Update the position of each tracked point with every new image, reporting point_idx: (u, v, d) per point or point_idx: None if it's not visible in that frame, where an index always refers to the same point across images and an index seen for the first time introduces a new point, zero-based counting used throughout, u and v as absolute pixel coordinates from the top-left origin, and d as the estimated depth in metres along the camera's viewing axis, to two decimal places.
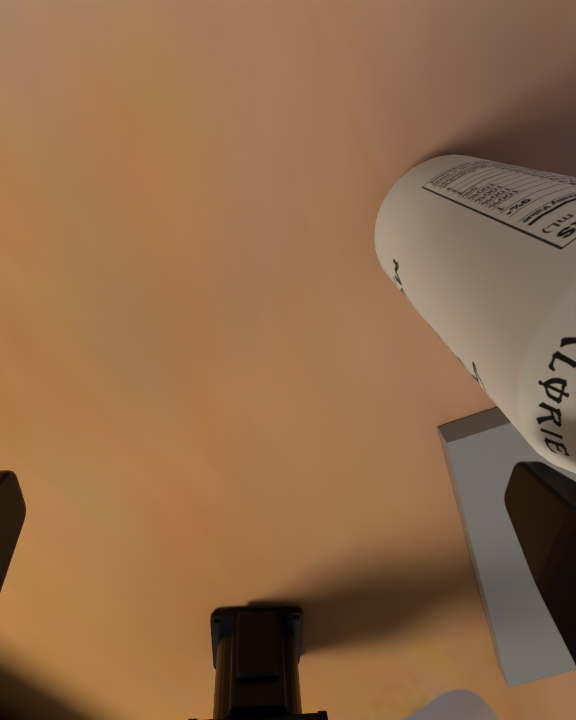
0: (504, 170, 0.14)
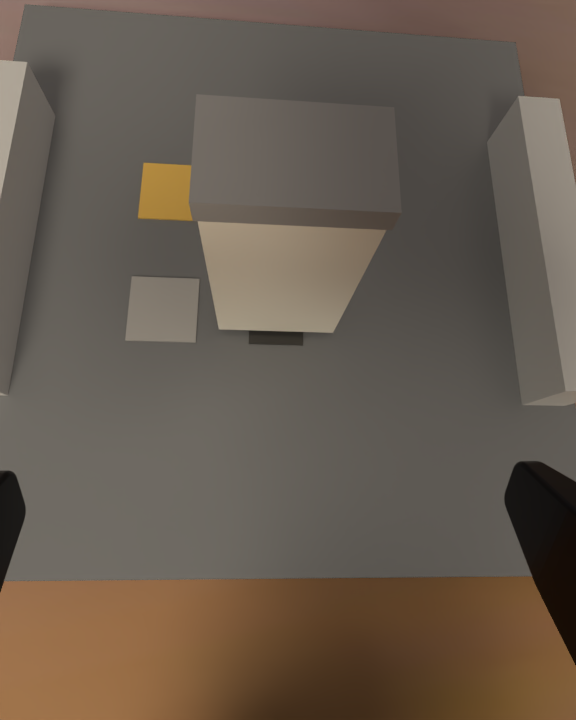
0: None
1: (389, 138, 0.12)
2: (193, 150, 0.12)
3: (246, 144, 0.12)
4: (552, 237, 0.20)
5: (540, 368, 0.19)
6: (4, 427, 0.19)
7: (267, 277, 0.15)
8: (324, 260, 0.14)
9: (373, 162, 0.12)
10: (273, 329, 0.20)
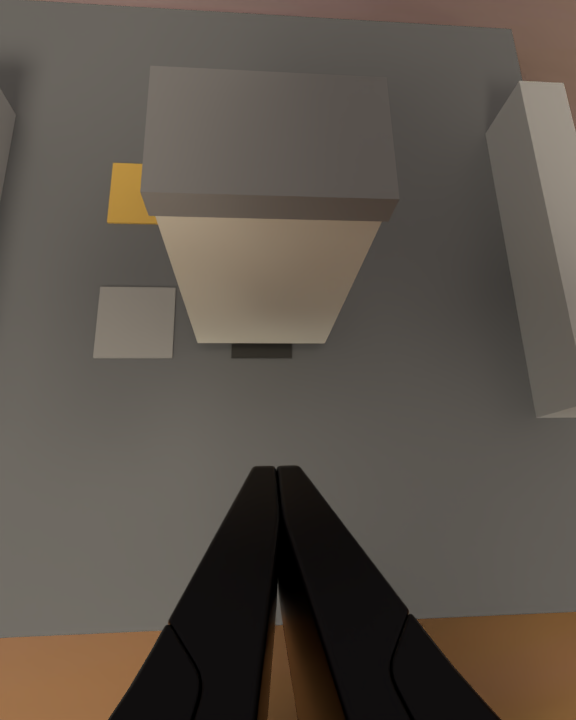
0: None
1: (381, 112, 0.10)
2: (146, 130, 0.10)
3: (210, 122, 0.10)
4: (563, 231, 0.18)
5: (556, 377, 0.17)
6: None
7: (245, 283, 0.13)
8: (310, 260, 0.12)
9: (363, 141, 0.10)
10: (258, 341, 0.18)
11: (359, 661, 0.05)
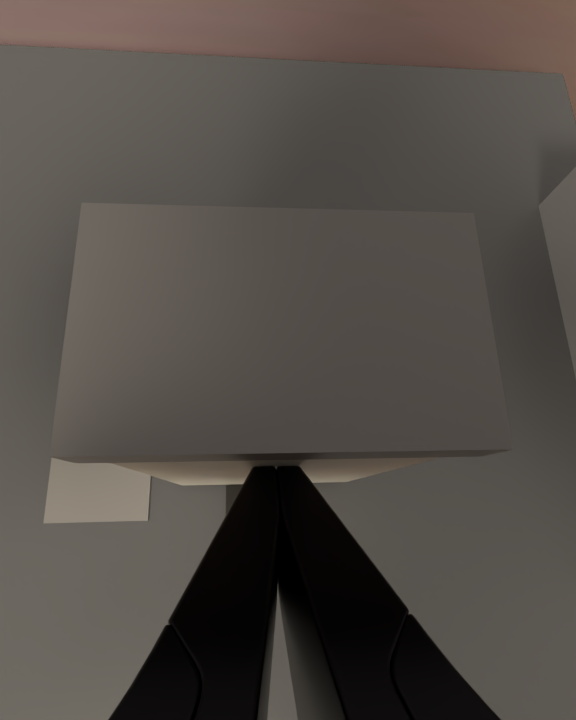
0: None
1: (470, 279, 0.06)
2: (67, 329, 0.05)
3: (181, 308, 0.06)
4: None
5: None
6: None
7: (244, 471, 0.09)
8: (341, 463, 0.08)
9: (444, 334, 0.06)
10: None
11: (359, 661, 0.05)
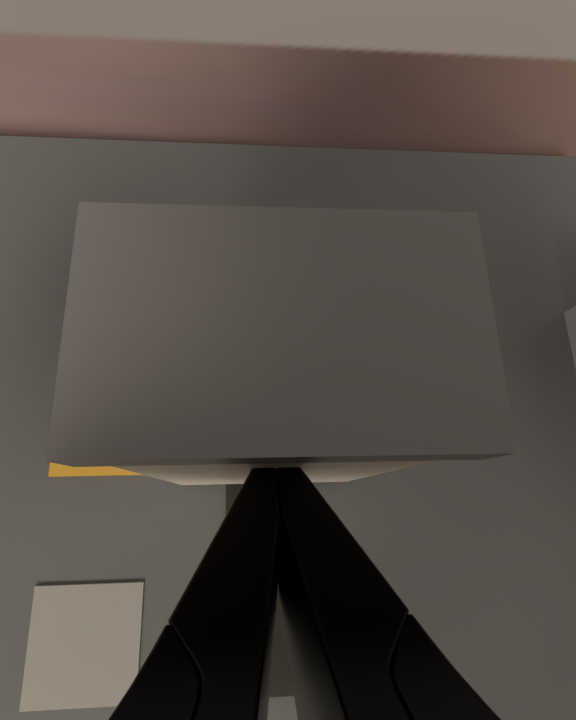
0: None
1: (474, 278, 0.06)
2: (64, 331, 0.05)
3: (180, 309, 0.06)
4: None
5: None
6: None
7: (243, 472, 0.09)
8: (342, 466, 0.08)
9: (447, 335, 0.06)
10: None
11: (359, 661, 0.05)
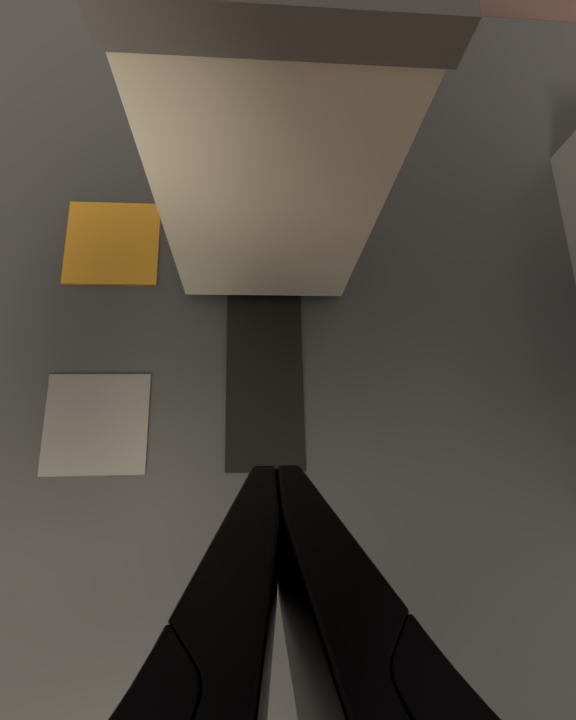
0: None
1: None
2: None
3: None
4: None
5: None
6: None
7: (244, 194, 0.10)
8: (333, 153, 0.09)
9: None
10: (260, 292, 0.15)
11: (359, 661, 0.05)
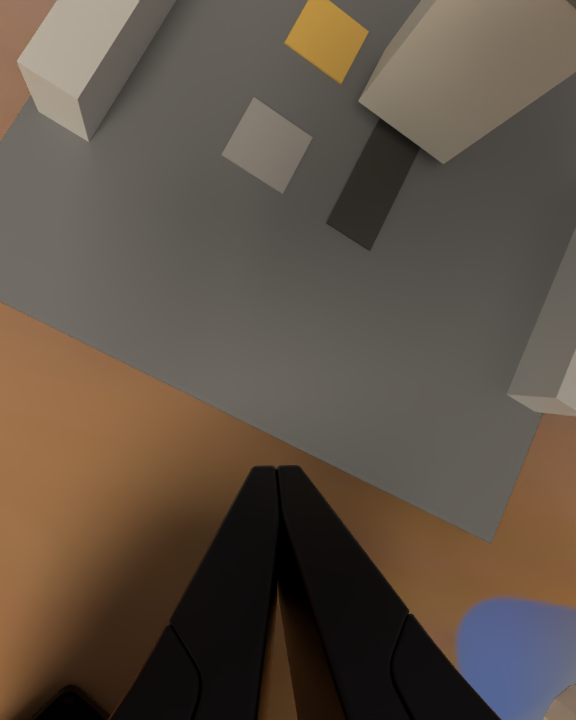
0: None
1: None
2: None
3: None
4: None
5: (542, 373, 0.22)
6: (73, 171, 0.18)
7: (466, 51, 0.16)
8: (531, 56, 0.16)
9: None
10: (402, 129, 0.21)
11: (359, 661, 0.05)
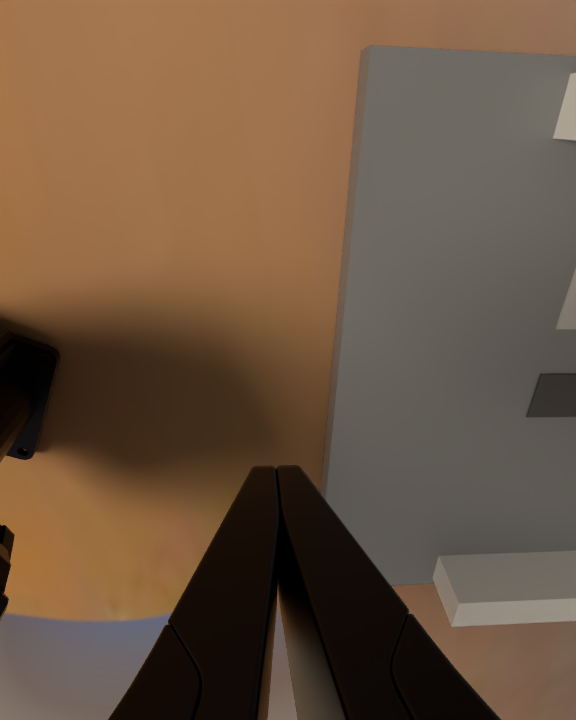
0: None
1: None
2: None
3: None
4: (575, 603, 0.25)
5: (471, 580, 0.26)
6: (517, 139, 0.17)
7: None
8: None
9: None
10: None
11: (359, 661, 0.05)
